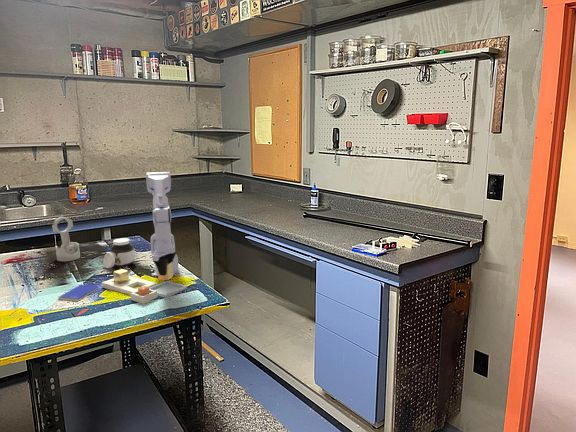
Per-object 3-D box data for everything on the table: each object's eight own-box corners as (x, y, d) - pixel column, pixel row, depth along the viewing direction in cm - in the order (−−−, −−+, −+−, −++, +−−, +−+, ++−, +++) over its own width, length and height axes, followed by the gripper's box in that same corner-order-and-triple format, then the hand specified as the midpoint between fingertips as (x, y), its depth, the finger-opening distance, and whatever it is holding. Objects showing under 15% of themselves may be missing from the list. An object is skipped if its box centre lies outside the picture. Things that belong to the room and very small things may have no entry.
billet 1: (122, 282, 177) (121, 269, 176) (129, 284, 175) (128, 270, 174) (114, 286, 174) (113, 271, 172) (121, 288, 172) (119, 273, 170)
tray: (167, 284, 176) (166, 280, 175) (187, 289, 170) (186, 286, 170) (145, 293, 166) (145, 289, 166) (165, 299, 161) (165, 295, 161)
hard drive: (77, 298, 159) (98, 285, 171) (58, 296, 160) (79, 284, 172) (78, 302, 159) (98, 289, 171) (58, 300, 161) (80, 287, 173)
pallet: (125, 278, 181) (124, 274, 181) (156, 287, 172) (156, 283, 171) (102, 287, 172) (101, 282, 172) (134, 297, 163) (133, 292, 162)
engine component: (84, 257, 209) (73, 253, 215) (79, 216, 204) (68, 213, 210) (61, 263, 200) (51, 259, 206) (56, 220, 196) (45, 217, 202)
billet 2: (163, 275, 169) (162, 261, 168) (172, 276, 169) (172, 261, 167) (158, 279, 166) (157, 264, 164) (168, 280, 165) (167, 265, 163)
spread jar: (137, 262, 202) (135, 238, 199) (124, 270, 191) (122, 245, 188) (114, 261, 204) (112, 237, 201) (99, 269, 193) (97, 244, 190)
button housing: (145, 294, 165) (144, 287, 164) (157, 298, 162) (156, 291, 161) (131, 300, 159) (130, 293, 159) (143, 304, 156) (142, 297, 155)
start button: (144, 292, 163) (144, 285, 162) (152, 294, 161) (151, 287, 160) (136, 296, 159) (135, 289, 159) (143, 298, 157) (142, 291, 157)
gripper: (164, 245, 156) (166, 280, 159) (181, 234, 170) (183, 267, 173) (146, 244, 157) (148, 279, 160) (164, 233, 171) (166, 266, 174)
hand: (165, 273), depth 167 cm, fingers closed on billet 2, 4 cm apart
